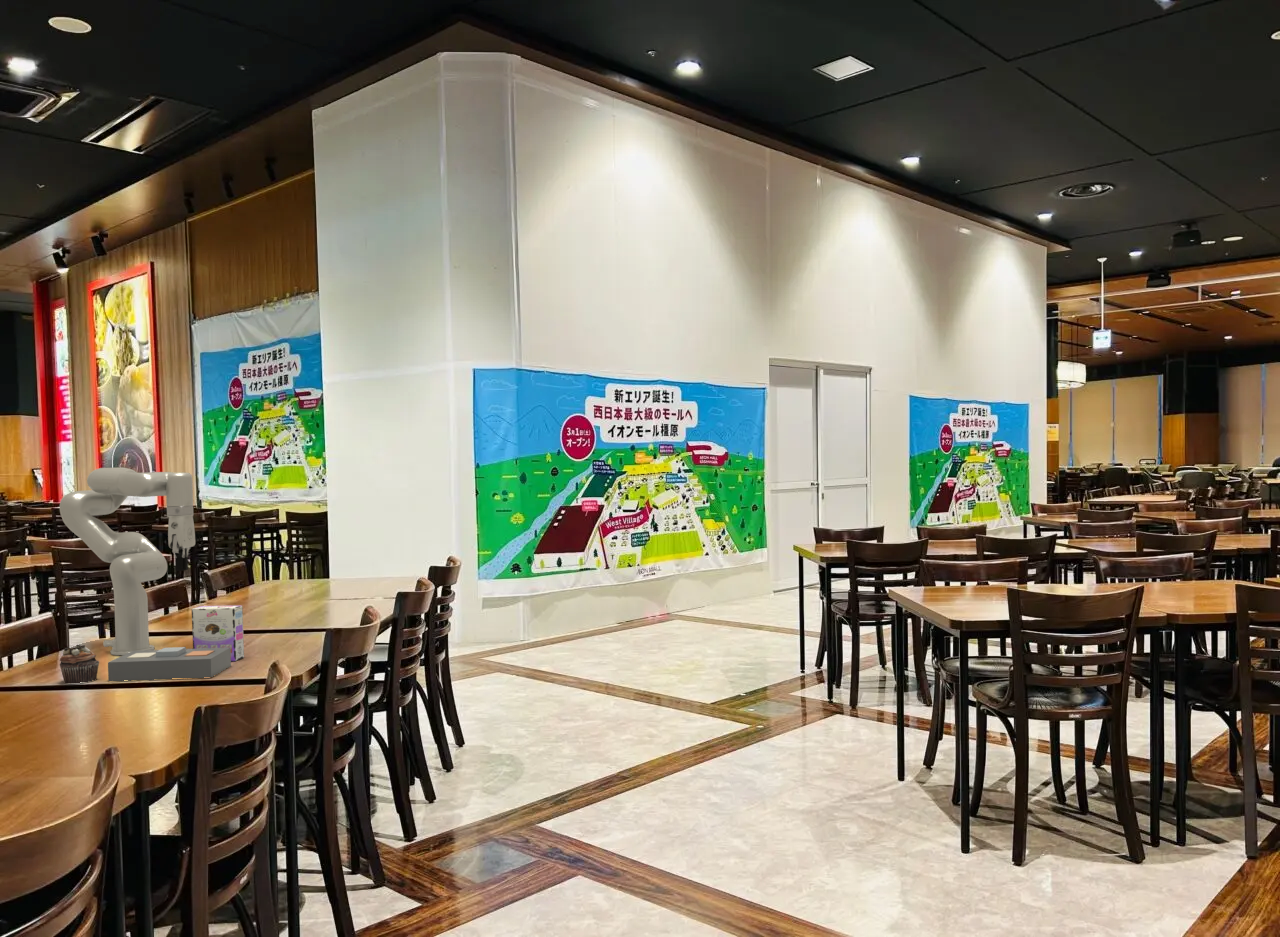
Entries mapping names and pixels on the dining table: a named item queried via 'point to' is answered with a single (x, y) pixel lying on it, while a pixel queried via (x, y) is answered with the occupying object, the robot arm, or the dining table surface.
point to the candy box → (219, 628)
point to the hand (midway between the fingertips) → (181, 570)
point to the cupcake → (78, 665)
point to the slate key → (171, 652)
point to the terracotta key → (199, 653)
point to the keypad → (169, 665)
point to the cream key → (142, 655)
